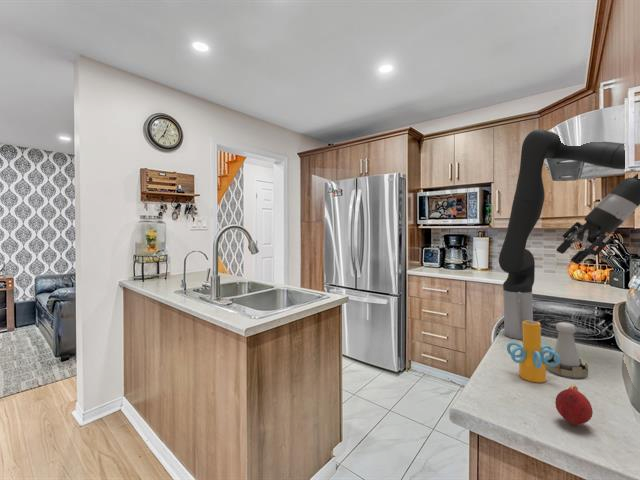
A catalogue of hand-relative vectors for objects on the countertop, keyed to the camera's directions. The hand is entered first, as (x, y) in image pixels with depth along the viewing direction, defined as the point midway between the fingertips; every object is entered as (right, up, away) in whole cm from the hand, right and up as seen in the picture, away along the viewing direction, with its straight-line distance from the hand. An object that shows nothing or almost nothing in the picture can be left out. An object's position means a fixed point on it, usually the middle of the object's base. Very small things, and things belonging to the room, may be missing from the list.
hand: (566, 257), depth 94 cm
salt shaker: (-6, -31, -8) cm, 33 cm away
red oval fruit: (-24, -32, -32) cm, 52 cm away
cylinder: (-18, -32, -12) cm, 39 cm away
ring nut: (-7, -32, -8) cm, 33 cm away
